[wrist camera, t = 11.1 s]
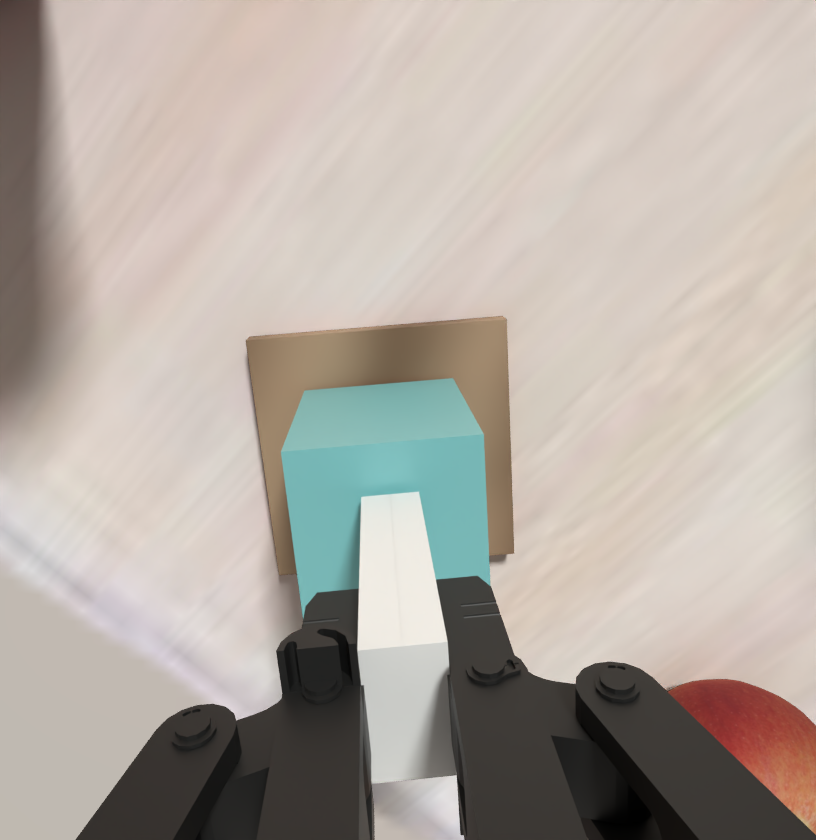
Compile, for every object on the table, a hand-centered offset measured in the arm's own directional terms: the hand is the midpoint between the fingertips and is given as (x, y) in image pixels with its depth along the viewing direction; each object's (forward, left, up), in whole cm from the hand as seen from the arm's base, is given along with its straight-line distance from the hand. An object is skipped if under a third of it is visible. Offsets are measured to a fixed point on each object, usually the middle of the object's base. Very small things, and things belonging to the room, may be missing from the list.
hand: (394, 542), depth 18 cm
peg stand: (0, 0, -8) cm, 8 cm away
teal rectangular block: (0, 0, -7) cm, 7 cm away
